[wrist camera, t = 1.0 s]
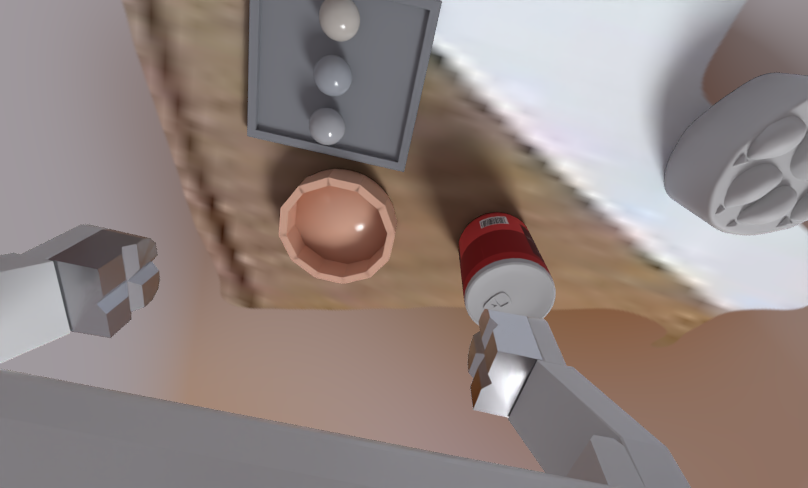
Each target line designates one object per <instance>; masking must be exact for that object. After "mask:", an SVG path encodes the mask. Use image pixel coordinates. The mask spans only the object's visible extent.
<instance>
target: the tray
mask: <svg viewBox="0 0 808 488" xmlns="http://www.w3.org/2000/svg"><path fill="white" fill-rule="evenodd" d="M352 1H353V2H354V3H355V5H356V6H357V8H358V11H359V14H360V26H359V29H358V31H357V33H356V34H355V36H354V37H353V38H351V39H350V40H347V41H343V42H339V41H335V40H333V39H331V38H329V37H328V36H327V35H326V34H325V33H324V31H323V30H322V28H321V26H320V22H319V10H320V7H321V5H322V3H323V2H324V0H250V15H249V71H248V127H247V136H250V137H254V138H258V139H263V140H267V141H271V142H276V143H280V144H284V145H289V146H293V147H297V148H302V149H306V150H311V151H315V152H319V153H324V154H328V155H332V156H337V157H341V158H345V159H350V160H354V161H358V162H363V163H367V164H371V165H376V166H380V167H385V168H389V169H393V170H398V171H402V172H404V169H405V165H406V160H407V156H408V152H409V147H410V143H411V138H412V134H413V129H414V125H415V120H416V116H417V111H418V107H419V102H420V98H421V93H422V89H423V84H424V80H425V75H426V71H427V66H428V62H429V57H430V53H431V48H432V44H433V39H434V35H435V30H436V26H437V21H438V17H439V12H440V8H441V3H442V1H438V0H352ZM326 55H337V56H339V57H341V58H343V59H344V60H345V61H346V62H347V63H348V64H349V66H350V68H351V71H352V83H351V86H350V88H349V89H348V90H347V91H346V92H345V93H344V94H342V95H340V96H329V95H326V94H324V93H323V92H321V91H320V90H319V88H318V87H317V86H316V84H315V81H314V76H313V72H314V67H315V65H316V63H317V62H318V60H319V59H320V58H322V57H324V56H326ZM325 107H326V108H332V109H334V110H336V111H337V112H339V113H340V114H341V116H342V117H343V119H344V122H345V133H344V135H343V137H342V139H341V140H340V141H339V142H337V143H335V144H333V145H323V144H321V143H319V142H317V141H316V140H315V139H314V138H313V137H312V136H311V134H310V131H309V120H310V117H311V115H312V114H313V113H314V112H315V111H316V110H318V109H320V108H325Z"/></svg>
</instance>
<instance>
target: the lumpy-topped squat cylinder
mask: <svg viewBox="0 0 808 488" xmlns="http://www.w3.org/2000/svg"><path fill="white" fill-rule="evenodd" d="M664 186H665V190H666V192H667V194H668V195H669V197H670V198H671V199H673V200H674V201H676V202H677V203H679V204H680V205H681V206H683V207H684V208H686V209H687V210H689V211H690V212H692V213H693V214H695V215H696V216H698V217H699V218H701V219H702V220H704V221H705V222H707V223H708V224H710V225H711V226H713V227H714V228H716V229H718V230H720V231H722V232H725V233H730V234H736V235H759V234H765V233H771V232H775V231H780V230H784V229H788V228H791V227H794V226H796V225H798V224H801V223H803V222H805V221H808V76H806V75H797V74H787V73H768V74H764V75H760V76H758V77H755V78H754V79H752V80H749V81H748V82H746V83H745V84H743V85H741V86H740V87H738V88H737V89H735V90H734V91H732V92H731V93H729V94H728V95H726V96H725V97H724V98H722V99H721V100H719V101H718V102H717V103H715V104H714V105H713V106H712V107H711V108H710V109H708V110H707V111H706V112H705V113H703V114H702V115H701V116H700V117H699V118H698V119H696V120H695V121H694V122H693V123H692V124H691V125H690V126H689V127H688V128H687V129H686V130H685V132H684V133H683V135H682V136H681V138H680V139H679V141H678V143H677V144H676V146H675V148H674V150H673V152H672V154H671V156H670V158H669V160H668V163H667V166H666V171H665V177H664Z"/></svg>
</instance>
